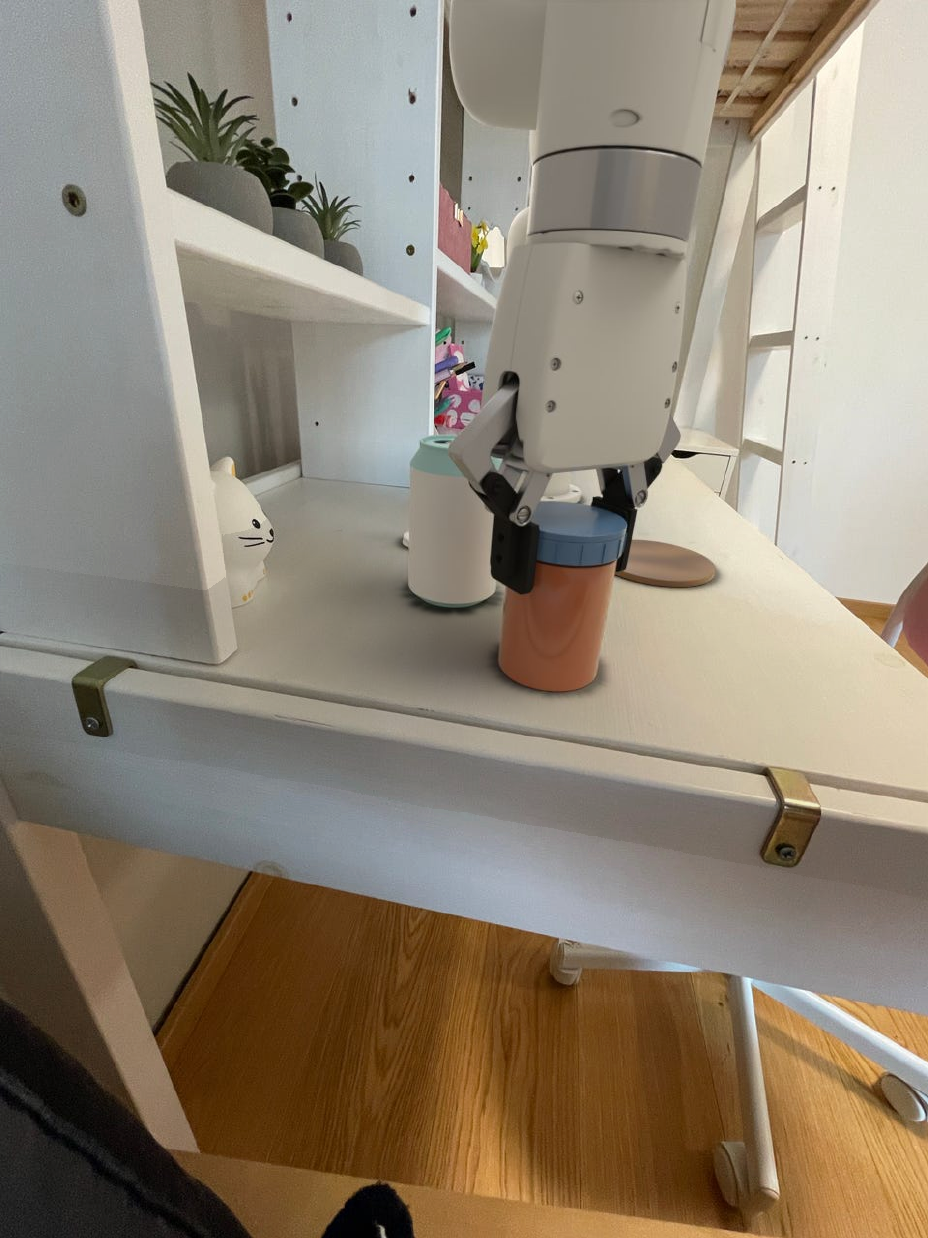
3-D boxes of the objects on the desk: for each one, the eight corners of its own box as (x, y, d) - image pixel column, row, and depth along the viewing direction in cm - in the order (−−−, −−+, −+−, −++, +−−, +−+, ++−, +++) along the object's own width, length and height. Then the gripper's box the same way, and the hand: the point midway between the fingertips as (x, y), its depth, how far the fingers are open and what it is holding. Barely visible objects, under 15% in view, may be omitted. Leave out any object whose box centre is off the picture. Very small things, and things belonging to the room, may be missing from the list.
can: (399, 606, 45) (400, 444, 39) (417, 572, 51) (420, 429, 45) (491, 616, 44) (505, 453, 39) (498, 580, 50) (511, 436, 45)
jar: (484, 645, 40) (495, 511, 36) (569, 636, 42) (589, 507, 38) (520, 697, 34) (537, 546, 30) (615, 685, 36) (644, 540, 32)
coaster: (575, 547, 59) (576, 542, 59) (668, 542, 62) (669, 536, 62) (634, 591, 50) (636, 585, 49) (740, 582, 53) (742, 576, 53)
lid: (489, 529, 36) (491, 502, 35) (586, 524, 38) (590, 499, 38) (535, 570, 31) (538, 539, 30) (645, 561, 33) (652, 532, 32)
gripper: (665, 247, 34) (614, 536, 42) (405, 199, 26) (402, 577, 34) (787, 237, 29) (702, 572, 37) (509, 172, 20) (476, 631, 28)
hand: (559, 572), depth 35 cm, fingers closed on lid, 6 cm apart
